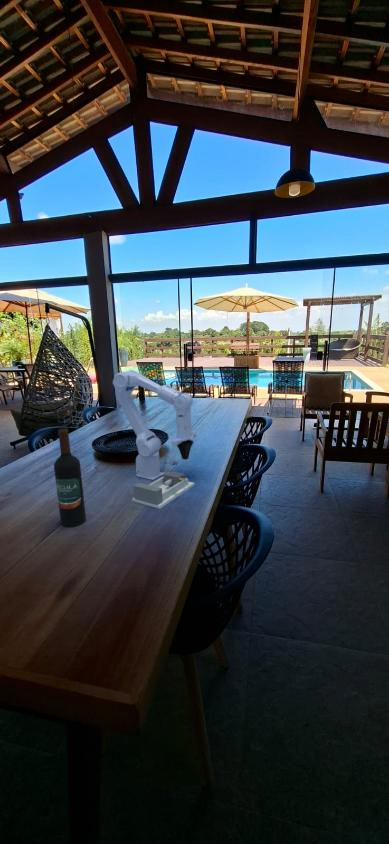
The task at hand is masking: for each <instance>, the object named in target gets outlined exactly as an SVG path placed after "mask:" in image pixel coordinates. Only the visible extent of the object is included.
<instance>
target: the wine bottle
mask: <svg viewBox="0 0 389 844" xmlns="http://www.w3.org/2000/svg"><path fill="white" fill-rule="evenodd" d="M57 432H58V433H57V434H58V440H59V449H60V456H59V457H58V458H57V459H56V460H55V462H54V464H53V470H54V479H55V487H56V494H57V501H58V509H59V517H60V519H59V520H60V525H61V526H62V527H65V528H74V527H79V526H80V525H81V526H82V524H84V523H85V522H86V521H87V515H86V507H85V506H86V505H85V498H84V497H85V496H84V486H83V478H82V470H81V469H82V468H81V462H80V459H78V458H77V457H76V456H75V455H73V454H72V452H71V445H70V437H69V429H68V428H59V429H58V430H57Z"/></svg>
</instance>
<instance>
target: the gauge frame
mask: <svg viewBox="0 0 389 844" xmlns="http://www.w3.org/2000/svg"><path fill="white" fill-rule="evenodd" d="M194 486H195V482H192V481H189V479H188V478H187V477H185V481H184V480H182V481H181V482H179V483H177V484H176V485H174V486H169V485H168V486H166V485H165V484H164V481H163V476H161V477H159V478H157V479H155V480H153V482H151V483H149V484H147V483H142V482H138V483H135V484H134V485H133V497H132V499H131V500H132V502H134V503H138V504H142V505H145V506H149V507H152V508H156V509H162V508H163V507H164V506H166V505H168V504H169V503H171V502H172V501H174V500H175V499H176V498H178V497H180V496H181V495H183V494H184V493H186V492H187V491H189V490H190V489H191V488H193V487H194Z"/></svg>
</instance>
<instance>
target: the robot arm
mask: <svg viewBox="0 0 389 844" xmlns="http://www.w3.org/2000/svg"><path fill="white" fill-rule="evenodd" d="M112 385H113V387H114V390H115V397H116V400H117V402H118V403H119V405H120V407H121V409H122V411H123V412H124V413H123V414H125V417H126V419H127V420H128V422H129V425H131V428H132V430H133V431H134V434H135V435H136V439H135V443H136V447H137V452H138V454H137V456H136V458H135V469H136V470H135V471H136V474H135V475H134V476H135V477H138V478H143V479H147V480H152V481H155V480H157V479H159V478H161V477H162V476H163V474H165V473H166V472H162V471H161V468H160V467H161V465H160V450H161V448H162V441H161V439H160V438H159V437H158V436H156V434H155V433H154V432H153V431H151V430H150V429H149V428H148V426H147V424H146V422H145V420H144V418H143V416H142V414H141V412H140V411H139V409H138V406H137V405H136V403H135V401H134V399H133V397H132V394H133V390H134V389H135V388H136V387H141V388H144V389H145V390H147V391H150V392H152V393H155V394H156V395H157V398H158V399H160V400H161V401H164V402H166V403H167V404H170V405H172V406H173V409H174V410H175V417H176V418H175V420H176V421H175V422H176V423H175V424H176V436H175V438H173V440H171V446H172V447H177V449H178V451H179V453H180V456H181V459H182V460H188V459H189V456H190V452H191V449H192V446H193V445H194V439H195V438H197V432H196V431H192V408H191V406H192V405H193V401H194V400H193V397H192V395H190V394H189V392H182V390H177V389H175V388H173V387H172V385H170V384H162V385H160V384H159V383H156V382H154V381H153V380H151V379H149V378H148V377H146V376H144V375H143V374H142V373H140V372H137V371H135V370H131V369H130V370H128V371H127V370H126V371H123V372H117V373H116V374H115V375H114V377H113V380H112Z"/></svg>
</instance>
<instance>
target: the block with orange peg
mask: <svg viewBox="0 0 389 844" xmlns="http://www.w3.org/2000/svg"><path fill="white" fill-rule="evenodd" d="M164 473H165V474H163V475H162V477H163V481H164V484H165V485H166V486H168V485H169V486H174V485H176V484H177V483H179V482H181V481H182V480H184V481H185V478H186V477H185V473H181V472H177V471H171V470H168V471H166V472H164Z"/></svg>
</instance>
